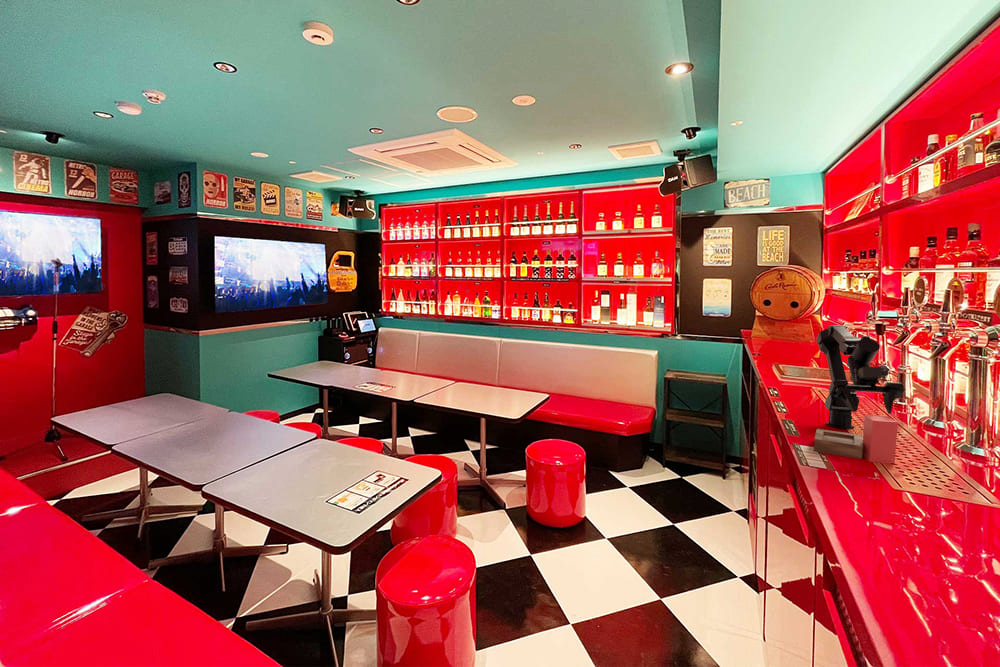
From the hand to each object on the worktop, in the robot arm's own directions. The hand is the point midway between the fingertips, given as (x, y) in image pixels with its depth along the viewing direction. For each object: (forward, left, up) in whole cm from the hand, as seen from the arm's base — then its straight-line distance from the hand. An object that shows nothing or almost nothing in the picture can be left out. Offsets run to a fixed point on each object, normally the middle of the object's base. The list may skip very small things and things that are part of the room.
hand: (871, 412), depth 145 cm
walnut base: (-3, -8, -13) cm, 15 cm away
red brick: (+6, -3, -13) cm, 14 cm away
